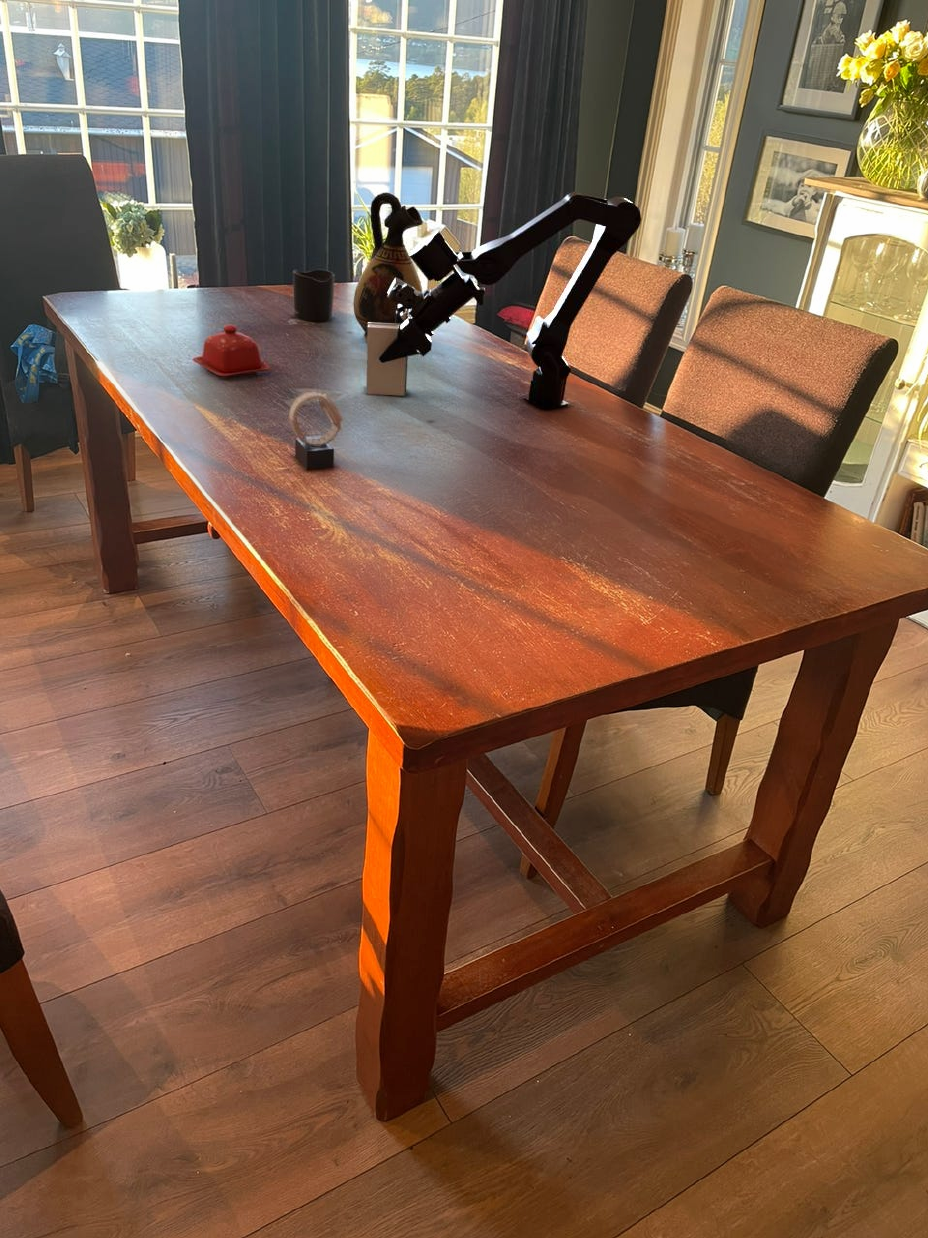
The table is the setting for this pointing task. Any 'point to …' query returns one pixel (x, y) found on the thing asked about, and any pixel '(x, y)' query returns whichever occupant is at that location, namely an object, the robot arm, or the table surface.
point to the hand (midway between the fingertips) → (379, 355)
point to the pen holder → (313, 295)
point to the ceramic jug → (386, 264)
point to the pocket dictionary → (389, 374)
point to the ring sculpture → (315, 448)
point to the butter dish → (231, 354)
